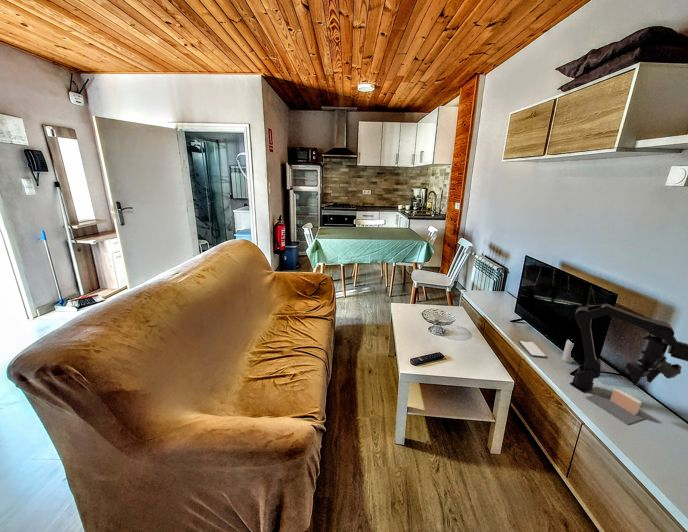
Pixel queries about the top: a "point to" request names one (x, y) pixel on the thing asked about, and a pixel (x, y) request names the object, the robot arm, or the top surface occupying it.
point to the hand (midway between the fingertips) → (641, 383)
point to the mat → (614, 408)
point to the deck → (626, 401)
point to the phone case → (532, 349)
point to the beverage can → (568, 352)
